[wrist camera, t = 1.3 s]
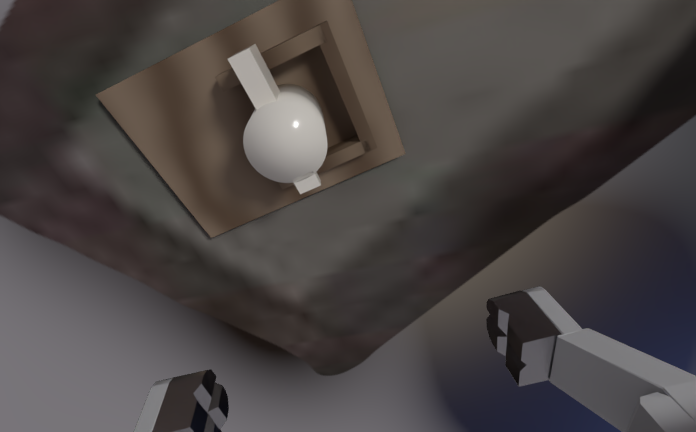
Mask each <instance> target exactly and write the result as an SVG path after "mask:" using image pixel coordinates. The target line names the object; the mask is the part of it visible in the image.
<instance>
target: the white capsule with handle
mask: <svg viewBox="0 0 696 432" xmlns="http://www.w3.org/2000/svg"><path fill="white" fill-rule="evenodd" d="M228 61H229V63H230V65H231V66H232V68H233V70H234V72H235V73H236V75H237V77H238V79H239V80H240V82H241V84H242V86H243V87H244V89H245V91H246V93H247V94H248V96H249V98H250V100H251V101H252V103H253V105H254V107H255V110H254V112H253V114H252V116H251V117H250V119H249V121H248V123H247V125H246V128H245V131H244V136H243V145H244V150H245V154H246V156H247V158H248V160H249V162H250V164H251V165H252V166H253V167H254V168H255V170H256V171H258V172H259V173H260V174H261V175H263V176H264V177H266V178H268V179H270V180H273V181H276V182H281V183H294V184H295V186H296V188H297V190H298V191H299V193H300V194H302V193H305V192H307V191H309V190H312V189H314V188H316V187H319V186H321V180H320V178H319V176H318V174H317V171H318V169H319V168H320V167H321V165H322V164H323V162H324V160H325V157H326V154H327V136H326V129H325V123H324V117H323V111H322V108H321V105H320V103H319V101H318V100H317V98H316V97H315V96H314V95H313V94H312V93H311V92H310V91H309V90H307V89H305V88H304V87H301V86H299V85H295V84H280V85H276V83H275V81H274V79H273V77H272V75H271V73H270V71H269V69H268V67H267V65H266V63H265V61H264V59H263V58H262V56H261V54H260V52H259V50H258V48H257V46H256V44H254V45H252V46H250V47H248V48H246V49H244V50H242V51H240V52H238V53H236V54H234V55H233V56H231V57H230V58H228Z"/></svg>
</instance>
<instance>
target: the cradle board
mask: <svg viewBox="0 0 696 432" xmlns="http://www.w3.org/2000/svg"><path fill="white" fill-rule="evenodd" d="M254 44H256V46H257V48H258V50H259V52H260V54H261V56H262V58H263V59H264V61H265V63H266V65H267V67H268V69H269V71H270V73H271V75H272V77H273V79H274V81H275V83H276V85H280V84H295V85H299V86H301V87H304V88H305V89H307V90H309V91H310V92H311V93H312V94H313V95H314V96H315V97H316V98H317V100H318V101H319V103H320V105H321V108H322V111H323V117H324V123H325V129H326V136H327V154H326V157H325V160H324V162H323V164H322V165H321V167H320V168H319V169H318V171H317V174H318V176H319V178H320V180H321V186H319V187H316V188H314V189H312V190H309V191H307V192H305V193H302V194H300V193H299V191H298V190H297V188H296V186H295V184H294V183H281V182H276V181H273V180H270V179H268V178H266V177H264V176H263V175H261V174H260V173H259V172H258V171H256V170H255V168H254V167H253V166H252V165H251V164H250V162H249V160H248V158H247V156H246V154H245V150H244V145H243V136H244V131H245V128H246V125H247V123H248V121H249V119H250V117H251V116H252V114H253V112H254V110H255V107H254V105H253V103H252V101H251V100H250V98H249V96H248V94H247V93H246V91H245V89H244V87H243V86H242V84H241V82H240V80H239V79H238V77H237V75H236V73H235V72H234V70H233V68H232V66H231V65H230V63H229V61H228V58H230V57H231V56H233V55H234V54H236V53H238V52H240V51H242V50H244V49H246V48H248V47H250V46H252V45H254ZM96 96H97V97H98V98H99V100H100V101H101V102H102V103H103V105H104V106H105V107H106V108H107V110H108V111H109V112H110V113H111V115H112V116H113V117H114V118H115V120H116V121H117V122H118V123H119V124H120V126H121V127H122V128H123V129H124V131H125V132H126V133H127V134H128V136H129V137H130V138H131V139H132V141H133V142H134V143H135V144H136V145H137V147H138V148H139V149H140V150H141V152H142V153H143V154H144V155H145V157H146V158H147V159H148V160H149V162H150V163H151V164H152V165H153V167H154V168H155V169H156V170H157V171H158V173H159V174H160V175H161V176H162V178H163V179H164V180H165V181H166V183H167V184H168V185H169V186H170V188H171V189H172V190H173V191H174V193H175V194H176V195H177V196H178V197H179V199H180V200H181V201H182V202H183V204H184V205H185V206H186V207H187V209H188V210H189V211H190V212H191V214H192V215H193V216H194V217H195V219H196V220H197V221H198V222H199V223H200V225H201V226H202V227H203V228H204V230H205V231H206V232H207V233H208V235H209V236H210V237H211V238H212V237H215V236H217V235H219V234H222V233H224V232H226V231H228V230H231V229H233V228H235V227H238V226H240V225H242V224H245V223H247V222H249V221H252V220H254V219H256V218H259V217H261V216H263V215H265V214H268V213H270V212H272V211H275V210H277V209H279V208H282V207H284V206H286V205H289V204H291V203H293V202H296V201H298V200H300V199H302V198H305V197H307V196H309V195H312V194H314V193H316V192H319V191H321V190H323V189H326V188H328V187H330V186H332V185H335V184H337V183H339V182H342V181H344V180H346V179H349V178H351V177H353V176H356V175H358V174H360V173H363V172H365V171H367V170H369V169H372V168H374V167H376V166H379V165H381V164H383V163H386V162H388V161H390V160H393V159H395V158H397V157H399V156H402V155H404V154H406V153H405V151H404V148H403V145H402V142H401V139H400V136H399V133H398V131H397V128H396V125H395V122H394V119H393V116H392V114H391V111H390V108H389V105H388V102H387V99H386V96H385V94H384V91H383V88H382V85H381V82H380V79H379V77H378V74H377V71H376V68H375V65H374V62H373V59H372V57H371V54H370V51H369V48H368V45H367V42H366V40H365V37H364V34H363V31H362V28H361V25H360V22H359V20H358V17H357V14H356V11H355V8H354V5H353V3H352V0H279V1H277V2H275V3H273V4H271V5H269V6H267V7H265V8H263V9H261V10H259V11H258V12H256V13H254V14H252V15H250V16H248V17H246V18H244V19H242V20H240V21H238V22H236V23H234V24H232V25H230V26H228V27H226V28H225V29H223V30H221V31H219V32H217V33H215V34H213V35H211V36H209V37H207V38H205V39H203V40H201V41H199V42H197V43H195V44H193V45H191V46H190V47H188V48H186V49H184V50H182V51H180V52H178V53H176V54H174V55H172V56H170V57H168V58H166V59H164V60H162V61H160V62H158V63H157V64H155V65H153V66H151V67H149V68H147V69H145V70H143V71H141V72H139V73H137V74H135V75H133V76H131V77H129V78H127V79H125V80H124V81H122V82H120V83H118V84H116V85H114V86H112V87H110V88H108V89H106V90H104V91H102V92H100V93H98V94H96Z"/></svg>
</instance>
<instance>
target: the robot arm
mask: <svg viewBox="0 0 696 432" xmlns="http://www.w3.org/2000/svg"><path fill="white" fill-rule="evenodd" d="M487 310H488V311H489V313H490V315H489V317H488V318H487V330H488V333H489V337H490V339H491V341H492V344H493V345H494V347H495V349H496V350H497V352H499V353H501V354H502V355H504V356H506V364H505V365H506V367H507V369H508V370H509V371H510V373H511V375H512V377H513V378H514V380H515V381H516V383H517V385H518V386H523V385H527V384H532V383H537V382H541V381H545V380H550V382H551V383H552V384H554V385H555V386H557V387H558V388H560V389H561V390H563V391H564V392H565V393H567V394H568V395H570V396H571V397H573V398H574V399H576V400H577V401H578V402H580V403H581V404H583V405H584V406H586V407H587V408H589V409H590V410H592V411H593V412H594V413H596V414H597V415H599V416H600V417H602V418H603V419H604V420H606V421H607V422H609V423H610V424H612V425H613V426H615V427H616V428H618V429H619V430H620V431H622V432H696V376H695V375H692V374H690V373H688V372H685V371H683V370H681V369H679V368H677V367H674V366H672V365H670V364H668V363H665V362H663V361H661V360H658V359H656V358H654V357H652V356H650V355H647V354H645V353H643V352H641V351H638V350H636V349H634V348H631V347H629V346H627V345H625V344H623V343H620V342H618V341H616V340H614V339H611V338H609V337H607V336H604V335H602V334H600V333H598V332H596V331H593V330H591V329H589V328H587V329H582V328H581V327H580V326H579V325H578V324H577V323H576V322H575V321H574V320H573V319H572V318H571V317H570V315H569V314H568V313H567V312H566V311H565V310H564V309H563V308H562V307H561V306H560V305H559V304H558V303H557V302H556V301H555V300H554V298H553V297H552V296H551V295H550V294H549V293H548V292H547V291H546V290H545V289H544V288H543V287H541V286H539V287H534V288H530V289H526V290H523V291H517V292H513V293H510V294H506V295H502V296H499V297H494V298H491V299H488V301H487ZM215 380H216V375H215V374H214V373H213V372H212V370H205V371H201V372H197V373H192V374H187V375H183V376H179V377H174V378H170V379H166V380H162V381H157V382H155V384H154V385H153V386H152V387H151V389H150V392H149V394H148V397H147V399H146V402H145V404H144V407H143V409H142V412H141V414H140V417H139V419H138V422H137V425H136V427H135V430H134V432H221V430H220V429H221V427H222V426H223V424H224V423H225V422H226V420H227V416H228V409H229V407H228V396H227V394H226V390H225V389H224V387H223V386H222V385H220V384H217V383H215Z"/></svg>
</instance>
